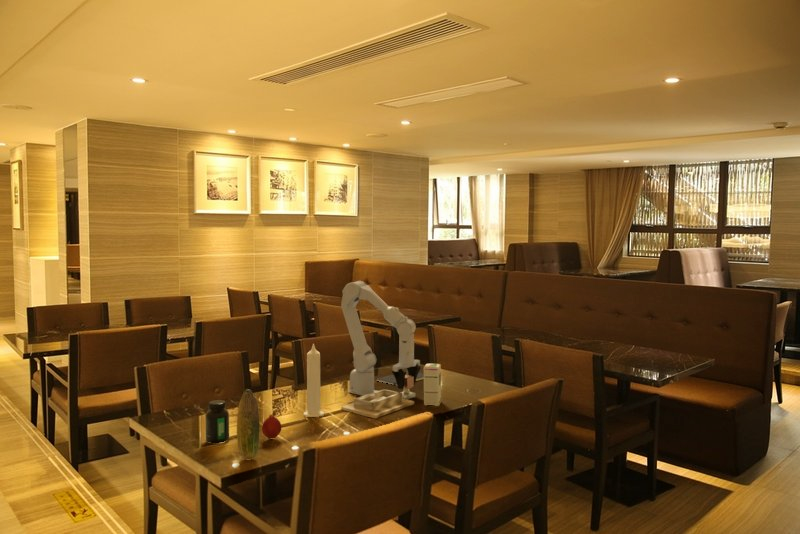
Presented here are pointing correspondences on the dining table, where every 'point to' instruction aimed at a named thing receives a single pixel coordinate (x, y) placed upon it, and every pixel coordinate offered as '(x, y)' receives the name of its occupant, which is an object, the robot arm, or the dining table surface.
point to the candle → (313, 384)
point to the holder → (378, 403)
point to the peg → (408, 387)
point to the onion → (271, 427)
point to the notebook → (392, 380)
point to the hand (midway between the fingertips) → (406, 386)
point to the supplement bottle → (217, 422)
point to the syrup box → (432, 384)
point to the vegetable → (248, 425)
